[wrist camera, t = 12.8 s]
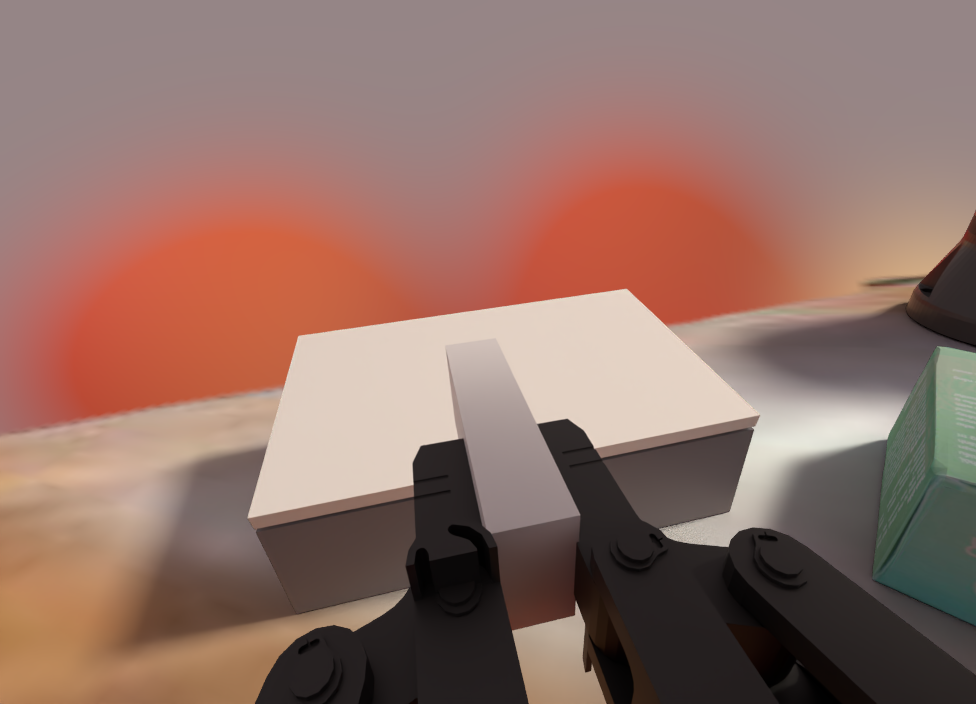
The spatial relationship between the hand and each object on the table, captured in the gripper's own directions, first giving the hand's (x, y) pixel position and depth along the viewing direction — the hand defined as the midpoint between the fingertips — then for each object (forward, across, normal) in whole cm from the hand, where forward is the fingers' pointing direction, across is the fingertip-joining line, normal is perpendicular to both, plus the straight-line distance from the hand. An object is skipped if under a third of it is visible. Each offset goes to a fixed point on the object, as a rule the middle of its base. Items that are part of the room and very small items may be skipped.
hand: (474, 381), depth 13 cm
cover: (+10, +2, -7) cm, 12 cm away
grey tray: (+10, +2, -14) cm, 17 cm away
